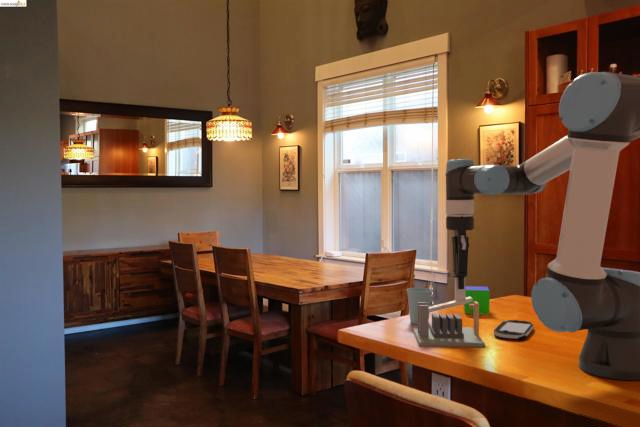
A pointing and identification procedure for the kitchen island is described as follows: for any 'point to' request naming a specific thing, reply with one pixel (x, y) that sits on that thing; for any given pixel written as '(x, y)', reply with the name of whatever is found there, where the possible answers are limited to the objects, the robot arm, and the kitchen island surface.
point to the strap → (450, 304)
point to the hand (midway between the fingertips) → (460, 300)
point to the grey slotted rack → (446, 329)
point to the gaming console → (513, 330)
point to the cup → (415, 297)
